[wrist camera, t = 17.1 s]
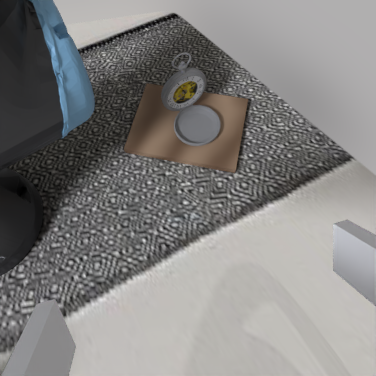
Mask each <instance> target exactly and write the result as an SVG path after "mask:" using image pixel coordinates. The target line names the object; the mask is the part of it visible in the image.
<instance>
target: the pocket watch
mask: <svg viewBox="0 0 376 376" xmlns="http://www.w3.org/2000/svg"><path fill="white" fill-rule="evenodd" d="M181 55H188V56H189V60H188V62H187V63H185V62H184V61H181V63H180V65H179V66H178V67H177V66H175V65H174V62H175V60H176V59H177V57H179V56H181ZM191 59H192V57H191V54H190V53H187V52H184V53H181V54H178V55H177V56H176V57H175V58H174V59H173V61H172V66H173V67H174V68H176V69H179V70H180V71H178V72H177V73H175V74H174V75H172V76H171V77H170V78H169V79H168V80H167V82H166V83H165V85H164V87H163V89H162V92H161V99H162V103H163V105H164V106H165V107H166V108H167V109H168V110H171V111H180V112H179V113H178V114H177V116H176V117H175V120H174V131H175V133H176V135H177V137H178V138H179V139H180V140H181V141H182V142H184V143H185V144H188V145H191V146H203V145H206V144H208V143H210V142H212V141H213V140H214V139H215V138H216V137H217V135H218V133H219V131H220V126H221V124H220V119H219V117H218V115H217V114H216V113H215V112H214V111H213V110H212V109H211V108H209V107H206V106H202V105H193V104H194V103H195V102H196V101H197V100H198V99H199V98H200V97H201V95H202V94H203V92H204V90H205V88H206V85H207V79H206V76H205V75H204V74H203V72H202V71H200V70H199V69H197V68H187V66H188V64H189V63H190V61H191ZM191 81H193V82H192V83H194V84H192V83H190V82H191ZM189 83H190V84H192V85H190V84H189ZM192 86H193V88H192V89H191V87H192ZM189 91H190V92H189ZM182 92H183V93H182ZM186 92H187V93H186ZM181 93H182V94H181ZM180 94H181V97H182V98H181V97H179V98H178V96H179V95H180ZM173 97H177V99H175V98H173Z"/></svg>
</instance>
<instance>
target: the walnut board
mask: <svg viewBox="0 0 376 376" xmlns="http://www.w3.org/2000/svg"><path fill="white" fill-rule="evenodd" d="M163 87H164V86H161V85H155V84H149V83H147V84H146V86H145V89H144V92H143V95H142V98H141V101H140V104H139V107H138V109H137V112H136V115H135V118H134V121H133V124H132V127H131V129H130V132H129V135H128V138H127V141H126V144H125V147H124V151H125V152H126V153H131V154H136V155H142V156H147V157H152V158H158V159H163V160H168V161H174V162H179V163H184V164H190V165H195V166H200V167H206V168H211V169H216V170H222V171H227V172H232V173H235V171H236V166H237V160H238V154H239V149H240V143H241V137H242V132H243V126H244V120H245V115H246V109H247V103H248V99H244V98H238V97H232V96H225V95H219V94H212V93H206V92H203V94H202V95H201V97H200V98H199V99H198V100H197V101H196V102H195V103H194V104H193V105H202V106H206V107H209V108H211V109H212V110H213V111H214V112H215V113H216V114H217V115H218V117H219V119H220V124H221V126H220V131H219V133H218V135H217V137H216V138H215V139H214V140H213V141H212V142H210V143H208V144H206V145H203V146H191V145H188V144H185V143H184V142H182V141H181V140H180V139H179V138H178V137H177V135H176V133H175V131H174V120H175V117H176V116H177V114H178V113H179V112H180V111H171V110H168V109H167V108H166V107H165V106H164V105H163V103H162V99H161V92H162V89H163ZM189 92H190V91H189ZM182 93H183V92H182ZM182 93H181V94H182ZM186 93H187V92H186ZM181 94H180V95H179V96H178V98H179V97H181ZM173 98H175V99H177V97H173ZM181 98H182V97H181Z"/></svg>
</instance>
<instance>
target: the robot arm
mask: <svg viewBox="0 0 376 376" xmlns="http://www.w3.org/2000/svg"><path fill="white" fill-rule="evenodd" d="M94 107H95V99H94V94H93V90H92V86H91V83H90V80H89V77H88V74H87V71H86V69H85V66H84V64H83V61H82V59H81V57H80V54H79V52H78V50H77V48H76V45H75V43H74V41H73V39H72V38H71V37H70V35H69V34H68V33H67V28H66V26H65V24H64V22H63V19H62V17H61V15H60V13H59V11H58V9H57V7H56V6H55V4H54V2H53V0H0V275H2V274H4V273H6V272H7V271H9V270H10V269H12V268H13V267H14V266H15V265H17V264H18V263H19V262H20V261H21V260H22V259H23V258H24V257H25V256H26V254H27V253H28V252H29V251H30V249H31V248H32V246H33V245H34V243H35V241H36V239H37V237H38V235H39V232H40V229H41V226H42V221H43V203H42V199H41V196H40V194H39V192H38V190H37V188H36V187H35V186H34V185H33V183H32V182H30V181H29V180H28V179H27V178H25V177H24V176H22V175H20V174H19V173H17V172H16V171H14V170H11V169H9V168H7V167H8V166H10V165H12V164H14V163H16V162H18V161H19V160H21V159H23V158H25V157H27V156H29V155H31V154H32V153H34V152H36V151H38V150H40V149H42V148H43V147H45V146H47V145H49V144H51V143H53V142H54V141H56V140H58V139H62V138H64V137H65V136H66V135H67V134H68V132H70V131H71V130H73V129H74V128H76V127H77V126H79V125H81V124H82V123H84V122H85V121H87V120H88V119H89V118H90V117H91V115H92V113H93V111H94ZM333 271H334V272H336V273H337V274H338V275H339V276H340V277H341V278H343V279H344V280H345V281H346V282H347V283H349V284H350V285H351V286H352V287H353V288H355V289H356V290H357V291H358V292H359V293H360V294H362V295H363V296H364V297H365V298H366V299H368V300H369V301H370V302H371V303H372V304H374V305H375V306H376V235H374V234H373V233H371V232H369V231H367V230H365V229H363V228H362V227H360V226H358V225H356V224H354V223H353V222H351V221H349V220H345V221H341V222H338V223H334V224H333ZM75 348H76V345H75V343H74V341H73V339H72V336H71V334H70V332H69V329H68V327H67V325H66V322H65V320H64V318H63V316H62V313H61V311H60V309H59V306H58V304H57V302H56V299H53V300H50V301H46V302H42V303H38V304H36V306H35V308H34V310H33V312H32V314H31V316H30V318H29V320H28V322H27V324H26V326H25V329H24V331H23V333H22V335H21V337H20V339H19V341H18V343H17V345H16V347H15V349H14V351H13V353H12V355H11V357H10V359H9V361H8V363H7V365H6V367H5V369H4V371H3V373H2V375H1V376H69V372H70V368H71V364H72V360H73V356H74V352H75Z"/></svg>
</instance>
